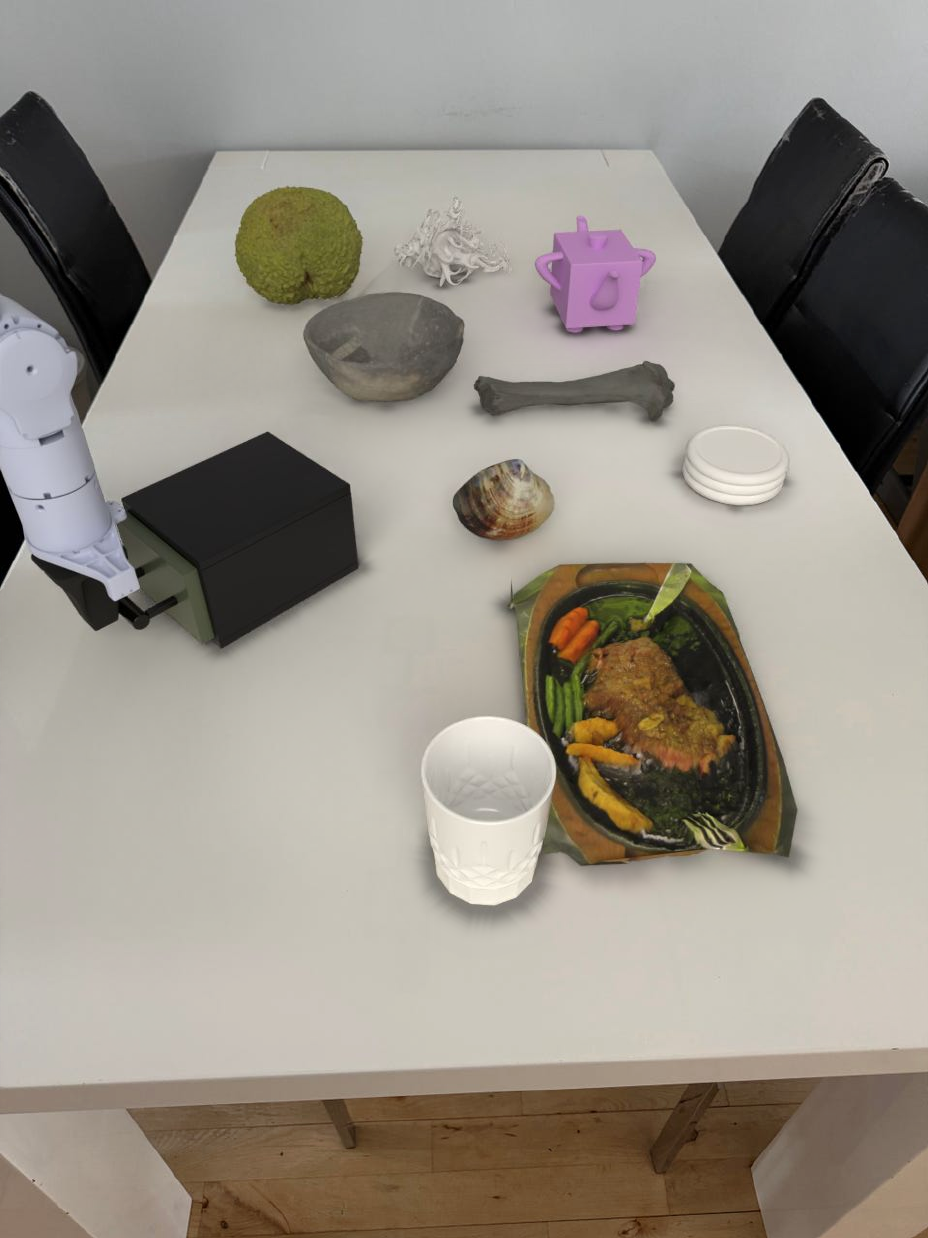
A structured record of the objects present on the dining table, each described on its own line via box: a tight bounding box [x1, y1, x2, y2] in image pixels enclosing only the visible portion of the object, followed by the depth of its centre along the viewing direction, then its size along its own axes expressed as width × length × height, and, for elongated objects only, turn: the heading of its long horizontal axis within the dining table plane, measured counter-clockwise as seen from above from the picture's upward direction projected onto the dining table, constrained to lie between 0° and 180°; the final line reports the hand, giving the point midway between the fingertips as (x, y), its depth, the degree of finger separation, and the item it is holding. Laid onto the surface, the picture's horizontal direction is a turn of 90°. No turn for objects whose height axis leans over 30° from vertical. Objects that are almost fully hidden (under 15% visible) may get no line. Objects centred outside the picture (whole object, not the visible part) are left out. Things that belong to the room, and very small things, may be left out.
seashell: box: [452, 458, 556, 541], centre depth 83 cm, size 10×6×8 cm, turn 102°
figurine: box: [393, 195, 514, 287], centre depth 125 cm, size 13×15×12 cm
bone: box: [473, 360, 676, 423], centre depth 99 cm, size 22×6×6 cm, turn 90°
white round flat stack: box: [681, 424, 790, 506], centre depth 91 cm, size 10×10×4 cm
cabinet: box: [120, 431, 359, 649], centre depth 78 cm, size 15×12×9 cm
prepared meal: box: [507, 562, 798, 867], centre depth 69 cm, size 28×4×18 cm
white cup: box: [420, 715, 556, 906], centre depth 57 cm, size 8×8×10 cm
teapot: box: [534, 215, 657, 334], centre depth 115 cm, size 15×13×11 cm
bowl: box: [302, 291, 466, 403], centre depth 103 cm, size 18×18×8 cm
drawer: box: [116, 511, 214, 645], centre depth 76 cm, size 18×10×7 cm, turn 135°
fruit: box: [234, 185, 364, 306], centre depth 119 cm, size 16×14×15 cm
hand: (103, 621), depth 72 cm, fingers closed, pressing on drawer
